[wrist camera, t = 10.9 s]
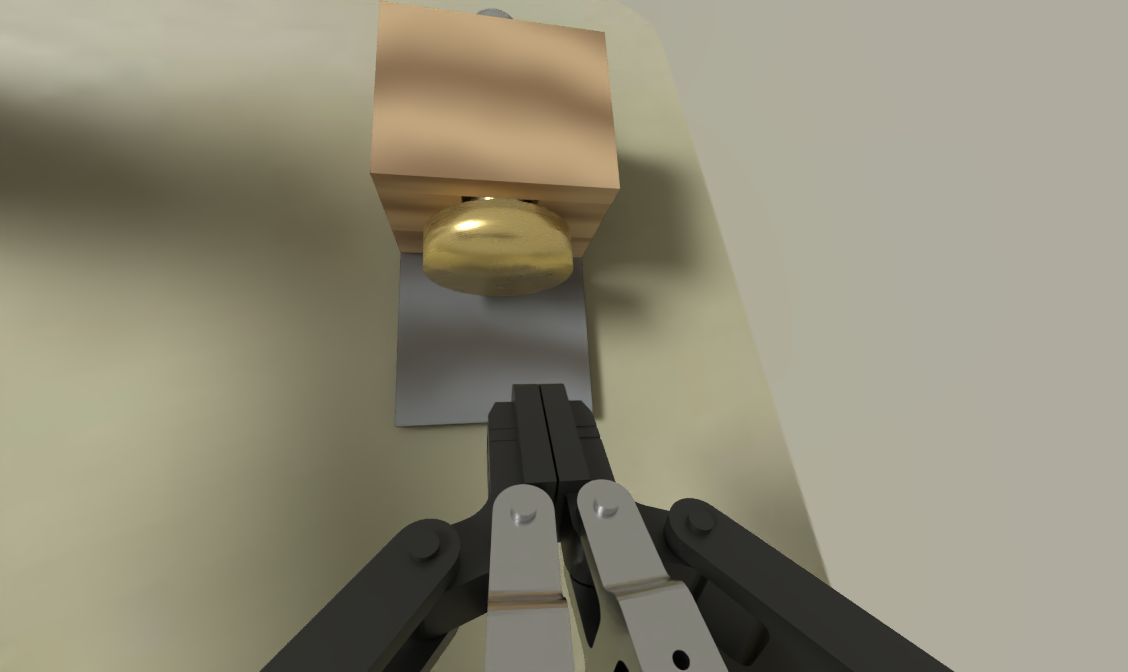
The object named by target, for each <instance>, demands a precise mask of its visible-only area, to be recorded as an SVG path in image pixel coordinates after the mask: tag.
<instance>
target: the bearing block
mask: <svg viewBox="0 0 1128 672" xmlns="http://www.w3.org/2000/svg"><path fill="white" fill-rule="evenodd" d="M370 174H371V177H372V179H373V182H374V184H375V187H376V190H377V192H378V195H379V197H380V200H381V203H382V205H383V208H384V210H385V213H386V215H387V218H388V221H389V223H390V226H391V228H392V231H393V234H394V236H395V239H396V241H397V244H398V246H399V249H400V252H401V260H400V289H399V319H398V348H397V378H396V407H395V426H396V427H408V426H428V425H448V424H469V423H488V414H489V412H490V410H491V409H492V407H493V405H494V403H495V402H511V395H512V385H513V384H538V385H539V384H556V383H563V384H564V385H565V389H566V392H567V396H568V399H569V400H582V402H583V403H584V404H585V405H586V406H587V407H588V408H589V409H590V410H591V411H592V413H593V409H592V395H591V382H590V368H589V354H588V340H587V327H586V313H585V299H584V285H583V272H582V258H581V257H582V256H583V254H584V252H585V250H586V249H587V247H588V245H589V243H590V241H591V240H592V238H593V236H594V234H595V233H596V231H597V229H598V227H599V225H600V224H601V222H602V220H603V218H604V217H605V215H606V213H607V211H608V209H609V208H610V206H611V204H612V202H613V201H614V199H615V197H616V195H617V193H618V192H619V190H620V182H619V172H618V162H617V152H616V142H615V132H614V122H613V112H612V102H611V92H610V82H609V72H608V62H607V52H606V42H605V32H599V31H592V30H585V29H578V28H571V27H564V26H557V25H549V24H542V23H535V22H528V21H521V20H514V19H507V18H499V17H492V16H485V15H478V14H471V13H464V12H457V11H449V10H442V9H435V8H428V7H421V6H414V5H407V4H399V3H392V2H385V1H379V18H378V36H377V55H376V73H375V91H374V109H373V128H372V146H371V164H370ZM471 197H488V198H506V199H524V200H525V202H527V203H531V204H535V205H538V206H541V207H544V208H546V209H548V210H551V211H553V212H554V213H556V214H558V215H559V216H560V217H562V218H563V219H564V220H565V221H566V222H567V224H568V226H569V227H570V230H571V240H572V255H573V272H572V274H571V275H570V277H569V278H568V279H567V280H565V281H564V282H562V283H561V284H559V285H557V286H555V287H552V288H550V289H547V290H544V291H540V292H536V293H531V294H525V295H517V296H480V295H472V294H466V293H461V292H457V291H453V290H450V289H447V288H444V287H442V286H440V285H438V284H436V283H434V282H433V281H431V280H430V279H429V278H428V277H427V276H426V275H425V273H424V271H423V232H424V226H425V224H426V223H427V221H428V220H429V219H430V218H431V217H432V216H433V215H434V214H436V213H437V212H439V211H441V210H443V209H445V208H447V207H450V206H452V205H456V204H459V203H463V202H468V201H471Z"/></svg>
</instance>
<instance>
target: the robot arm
mask: <svg viewBox="0 0 1128 672" xmlns="http://www.w3.org/2000/svg"><path fill="white" fill-rule="evenodd" d="M596 426H597V425H596V422H595V419H594V416H593V413H592V411H591V410H590V409H589V408H588V407H587V406H586V405H585V404H584V403H583V402H582V400H569V399H568V396H567V392H566V389H565V385H564V384H563V383H556V384H539V385H538V384H513V385H512V395H511V402H495V403H494V405H493V407H492V409H491V410H490V412H489V414H488V433H487V476H488V500H487V502H486V504H485V505H484V507H483V508H482V509H481V510H480V511H479V512H477V513H476V514H475V515H473V516H472V517H470V518H468V519H465V520H463V521H460V522H458V523H455V524H453V525H450V524H448V523H446V522H444V521H442V520H438V519H424V520H419V521H416V522H414V523H412V524H410V525H408V526H406V527H405V528H404V529H402V530H401V531H400V532H399V533H398V534H397V535H396V536H395V537H394V538H393V539H392V540H391V541H390V542H389V543H388V544H387V545H386V546H385V547H384V548H383V549H382V550H381V551H380V552H379V553H378V554H377V555H376V556H375V557H374V558H373V559H372V560H371V561H370V562H369V563H368V564H367V565H366V566H365V567H364V568H363V569H362V570H361V571H360V572H359V573H358V574H357V575H356V576H355V577H354V578H353V579H352V580H351V581H350V582H349V583H348V584H347V585H346V586H345V587H344V588H343V589H342V590H341V591H340V592H339V593H338V594H337V595H336V596H335V597H334V598H333V599H332V600H331V601H330V602H329V603H328V604H327V605H326V606H325V607H324V608H323V609H322V610H321V611H320V612H319V613H318V614H317V615H316V616H315V617H314V618H313V619H312V620H311V621H310V622H309V623H308V624H307V625H306V626H305V627H304V628H303V629H302V630H301V631H300V632H299V633H298V634H297V635H296V636H295V637H294V638H293V639H292V640H291V641H290V642H289V643H288V644H287V645H286V646H285V647H284V648H283V649H282V650H281V651H280V652H279V653H278V654H277V655H276V656H275V657H274V658H273V659H272V660H271V661H270V662H269V663H268V664H267V665H266V666H265V667H264V668H263V669H262V670H261V671H260V672H430V670H431V669H432V667H433V666H434V664H435V663H436V662H437V660H438V659H439V657H440V656H441V654H442V653H443V652H444V650H445V649H446V647H447V646H448V644H449V643H450V642H451V640H452V639H453V637H454V636H455V634H456V632H457V630H458V628H459V626H461V625H463V624H465V623H467V622H469V621H471V620H473V619H475V618H477V617H479V616H481V615H483V614H485V613H487V632H486V652H485V671H484V672H575V669H574V659H573V649H572V639H571V629H570V619H569V610H568V604H567V600H566V598H565V597H563V595H562V589H561V579H560V568H559V556H558V545H557V543H558V542H561V547H562V553H563V559H564V576H565V580H566V584H567V588H568V592H569V596H570V600H571V604H572V608H573V612H574V616H575V620H576V624H577V628H578V632H579V636H580V640H581V644H582V648H583V653H584V659H585V672H954V671H952V670H951V669H949V668H948V667H947V666H945V665H943V664H942V663H940V662H939V661H938V660H936V659H935V658H933V657H932V656H930V655H929V654H928V653H926V652H925V651H923V650H922V649H920V648H919V647H917V646H916V645H914V644H913V643H912V642H910V641H909V640H907V639H906V638H904V637H903V636H901V635H900V634H898V633H897V632H895V631H894V630H893V629H891V628H890V627H888V626H887V625H885V624H883V623H882V622H881V621H879V620H878V619H876V618H875V617H874V616H872V615H871V614H869V613H868V612H866V611H865V610H863V609H862V608H860V607H859V606H858V605H856V604H854V603H853V602H852V601H850V600H849V599H847V598H846V597H844V596H843V595H841V594H840V593H839V592H837V591H836V590H834V589H833V588H831V587H830V586H828V585H827V584H825V583H824V582H822V581H821V580H820V579H818V578H817V577H815V576H814V575H812V574H811V573H809V572H808V571H806V570H805V569H803V568H802V567H801V566H799V565H798V564H796V563H795V562H793V561H792V560H790V559H789V558H787V557H786V556H785V555H783V554H782V553H780V552H779V551H777V550H776V549H774V548H773V547H771V546H770V545H768V544H767V543H766V542H764V541H763V540H761V539H760V538H758V537H757V536H755V535H754V534H752V533H751V532H749V531H748V530H747V529H745V528H744V527H742V526H741V525H739V524H738V523H736V522H735V521H733V520H732V519H730V518H729V517H728V516H726V515H725V514H723V513H722V512H720V511H719V510H717V509H716V508H714V507H713V506H711V505H710V504H708V503H706V502H704V501H701V500H698V499H693V498H685V499H681V500H679V501H677V502H675V503H674V504H673V505H672V507H671V509H670V511H667V510H663V509H658V508H654V507H650V506H645V505H642V504H639V503H637V502H635V501H634V499H633V497H632V496H631V494H630V493H629V492H628V491H627V490H626V489H625V488H624V487H623V486H621V485H620V484H618V483H616V482H615V479H614V476H613V473H612V470H611V467H610V464H609V461H608V458H607V455H606V452H605V449H604V446H603V443H602V440H601V439H600V434H599V431H598V428H597V427H596Z"/></svg>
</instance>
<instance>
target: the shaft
mask: <svg viewBox="0 0 1128 672" xmlns="http://www.w3.org/2000/svg"><path fill="white" fill-rule="evenodd" d="M477 14H478V15H485V16H492V17H499V18H507V19H513V18H512V17H511V16H510V15H508V14H507V13H506V12H504V11H502V10H499V9H485V10H482V11H480V12H478V13H477ZM423 271H424V273H425V275H426V276H427V277H428V278H429V279H430V280H431V281H433V282H434V283H436V284H438V285H440V286H442V287H444V288H447V289H450V290H453V291H457V292H461V293H466V294H472V295H480V296H517V295H525V294H531V293H536V292H540V291H544V290H547V289H550V288H552V287H555V286H557V285H559V284H561V283H562V282H564V281H565V280H567V279H568V278H569V277H570V275H571V274H572V272H573V255H572V240H571V230H570V227H569V226H568V224H567V222H566V221H565V220H564V219H563V218H562V217H560V216H559V215H558V214H556V213H554V212H553V211H551V210H548V209H546V208H544V207H541V206H538V205H535V204H531V203H527V202H525V200H524V199H506V198H488V197H471V201H468V202H463V203H459V204H456V205H452V206H450V207H447V208H445V209H443V210H441V211H439V212H437V213H436V214H434V215H433V216H432V217H431V218H430V219H429V220H428V221H427V223H426V224H425V226H424V232H423Z"/></svg>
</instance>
